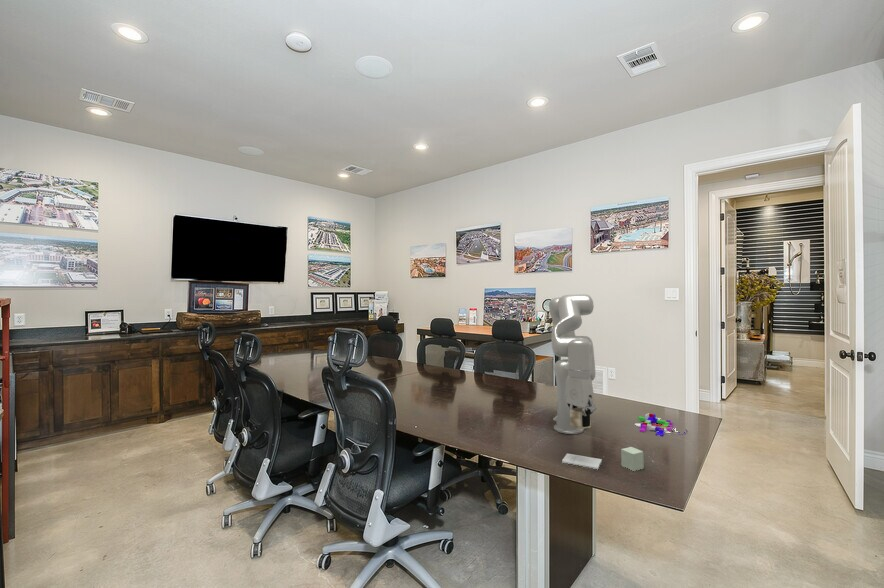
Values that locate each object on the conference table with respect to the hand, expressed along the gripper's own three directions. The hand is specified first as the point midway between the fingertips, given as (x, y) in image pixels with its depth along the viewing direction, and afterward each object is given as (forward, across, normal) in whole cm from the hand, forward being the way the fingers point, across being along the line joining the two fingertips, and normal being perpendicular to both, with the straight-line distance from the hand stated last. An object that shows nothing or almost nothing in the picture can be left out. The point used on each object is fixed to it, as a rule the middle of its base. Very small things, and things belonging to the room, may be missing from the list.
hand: (580, 423), depth 144 cm
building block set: (+15, -13, +59) cm, 62 cm away
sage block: (+14, +11, +13) cm, 22 cm away
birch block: (+1, 0, 0) cm, 1 cm away
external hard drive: (+15, 0, 0) cm, 15 cm away
